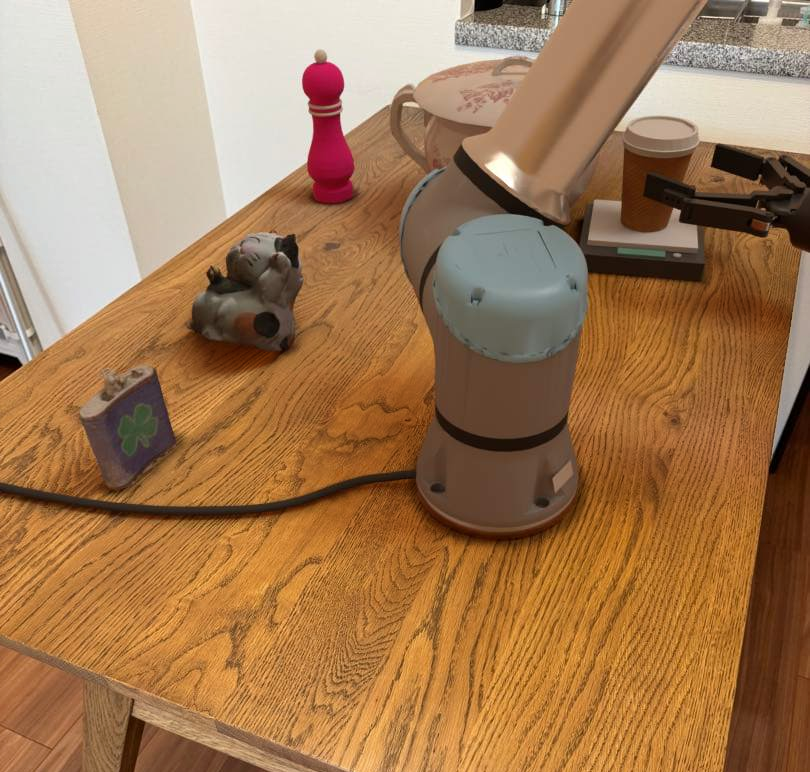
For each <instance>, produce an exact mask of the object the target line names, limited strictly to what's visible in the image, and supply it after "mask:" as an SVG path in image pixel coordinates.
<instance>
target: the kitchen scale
mask: <svg viewBox="0 0 810 772" xmlns="http://www.w3.org/2000/svg"><path fill="white" fill-rule="evenodd" d="M621 201H622V200H608V199H593V203H590V202H587V203H586V204H585V210H584V215H583V222H582V227H581V232H580V239H579V244H578V246H579V247H580V249H581V251H582V253H583V254H584V257H585V260H586V263H587V269H588V273H589V272H590V273H591V272H592V273H601V274H614V275H624V276H636V277H637V276H638V277H648V278H649V277H650V278H660V279H670V280H671V279H672V280H684V281H685V280H686V281H696V282H701V281H702V277H703V273H704V271H705V267H706V255H705V253H706V252H705V239H704V238H705V237H704V226H697V225H691V224H684V223H680V222H679V217H680V212H681V210H678V209H675V208H673V211H672V214H671V217H670V220H669V223H668V225H667V227H666V228H664V229H662V230H659V231H654V232H641V231H635V230H632V229H629V228H627V227H625V226H624V225H623V224H622V223H621V221H620V220H621Z"/></svg>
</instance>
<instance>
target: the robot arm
mask: <svg viewBox="0 0 810 772" xmlns="http://www.w3.org/2000/svg"><path fill="white" fill-rule="evenodd" d="M708 1H709V0H572V1H571V2H570V4H569V6H568V7H567V9H566V10H565V12H564V14H563V15H562V16H561V18H560V20H559V21H558V23H557V25H556V26H555V27H554V29H553V31H552V32H551V34H550V35H549V37H548V39H547V40H546V41H545V44H544V45H543V47H542V48H541V50H540V52H539V53H538V54H537V56H536V58H535V59H536V60H535V61H534V63H533V64H532V66H531V68H530V69H529V71H528V72H527V74H526V75H525V77H524V79H523V80H522V82H521V83H520V85H519V87H518V88H517V90H516V91H515V93H514V94H513V96H512V98H511V99H510V101H509V102H508V104H507V106H506V107H505V109H504V110H503V112H502V113H501V115H500V117H499V118H498V120H497V121H496V123H495V125H494V126H493V128H492V129H491V130H490V131H488V132H487V133H484V134H480V135H476V136H472V137H467V138H465V139H464V140H463V142H462V143H461V145H460V146H459V148H458V150H457V151H456V153H455V154H454V156H453V157H452V159H451V161H450V162H449V164H448V165H447V166H445V167H442V168H440V169H436V170H434V171H432V172H431V173H429V174H428V175H427V174H426V175H425V176H423V178H422V179H421V180H420V181H419V182H418V183H417V184H416V185H415V186H414V188H413V189H412V191H411V192H410V193H409V194H408V196H407V199H406V201H405V203H404V204H403V208H402V210H401V214H400V219H399V226H398V241H399V243H398V244H399V252H400V260H401V262H402V265H403V270H404V273H405V275H406V278H407V279H408V282H409V283H410V285H411V287H412V289H413V291H414V295H415V297H416V299H417V302H418V305H419V307H420V310H421V313H422V315H423V317H424V320H425V323H426V325H427V329H428V331H429V334H430V336H431V340H432V344H433V351H434V415H433V418H432V421H431V423H430V426H429V427H428V429H427V432H426V435H425V437H424V440H423V443H422V445H421V448H420V450H419V452H418V456H417V458H416V459H417V460H416V465H415V468H414V469H406V470H405V469H404V470H397V471H390V472H381V473H371V474H365V475H360V476H356V477H352V478H348V479H346V480H342V481H339V482H336V483H334V484H330V485H327V486H325V487H323V488H320V489H317V490H315V491H312V492H311V491H310V492H309V493H305V494H303V495H298V496H296V497H292V498H288V499H287V498H286V499H282V500H278V501H277V500H276V501H270V502H263V503H255V504H245V505H244V504H242V505H240V504H239V505H200V506H199V505H198V506H197V505H196V506H191V505H189V506H188V505H187V506H186V505H185V506H178V505H176V506H175V505H155V504H154V505H151V504H139V503H128V502H127V503H126V502H118V501H108V500H99V499H91V498H85V497H81V496H80V497H78V496H73V495H67V494H61V493H56V492H49V491H45V490H39V489H34V488H29V487H24V486H20V485H14V484H10V483H5V482H0V492H1V493H6V494H11V495H14V496H20V497H24V498H29V499H35V500H38V501H45V502H49V503H55V504H60V505H61V504H62V505H66V506H73V507H78V508H85V509H91V510H97V511H105V512H116V513H125V514H127V513H128V514H137V515H149V516H152V515H153V516H173V517H176V516H177V517H201V516H208V517H209V516H245V515H257V514H265V513H266V514H267V513H272V512H278V511H284V510H290V509H293V508H297V507H302V506H304V505H307V504H310V503H313V502H316V501H319V500H322V499H324V498H327V497H329V496H332V495H335V494H337V493H341V492H344V491H346V490H350V489H354V488H357V487H361V486H366V485H372V484H379V483H388V482H396V481H397V482H398V481H404V480H414V479H415V489H416V494H417V497H418V499H419V501H420V503H421V505H422V506H423V508H424V509H425V510H426V511H427V513H428V514H429V515H431V516H432V518H434V519H436V520H437V521H438V522H439V523H441V524H442V525H444V526H445V527H448V528H450V529H452V530H454V531H456V532H459V533H462V534H465V535H467V536H471V537H477V538H481V539H488V540H489V539H490V540H511V539H512V540H513V539H519V538H524V537H529V536H533V535H535V534H538V533H539V534H540V533H541V532H543V531H546V530H548V529H549V528H551V527H553V526H555V525H556V524H558V523H559V522H560V521H561V520H562V519H564V517H566V515H567V514H569V512H570V510H571V509H572V507H573V505H574V504H575V503H574V502H575V500H576V497H577V493H578V487H579V485H578V484H579V477H580V476H579V465H578V460H577V457H576V451H575V447H574V443H573V440H572V436H571V432H570V427H569V422H568V419H569V413H570V407H571V400H572V399H571V398H572V393H573V389H574V383H575V375H576V369H577V365H578V364H577V363H578V358H579V357H578V356H579V352H580V345H581V338H582V333H583V326H584V323H585V318H586V316H587V310H588V306H589V296H588V294H589V290H588V283H589V272H588V269H587V263H586V260H585V257H584V254H583V253H582V251H581V249H580V247H579V244H578V243H577V242H576V240H574V239H573V237H572V236H570V234H568V233H567V232H566V231H564V230H565V229H566V227H567V226H568V225H569V223H570V222H571V219H572V218H571V209H570V205H569V194H570V192H571V189H572V188H573V187H574V185H575V184H576V182H577V181H578V180H579V178H580V177H581V175H582V174H583V173H584V171H585V170H586V169H587V167H588V166H589V164H590V163H591V162H592V160H593V159H594V158H595V156H596V155H597V153H598V152H599V151H600V149H601V150H602V148H603V146H604V145H605V144H606V142H607V140H609V138H610V137H611V135H612V134H613V132H614V131H615V130H616V129H617V127H618V125H620V123H621V122H622V121H623V119H624V118H625V116H626V115H627V114H628V112H629V111H630V109H631V108H632V106H633V105H634V103H635V102H636V101H637V99H638V98H639V97H640V95H641V94H642V92H643V91H644V90H645V89H646V87H647V86H648V84H649V83H650V81H651V80H652V78H653V77H654V76H655V75H656V73H657V72H658V71H659V69H660V68H661V66H662V65H663V64H664V62H665V61H666V59H667V58H668V56H669V55H670V54H671V52H672V51H673V50H674V48H675V47H676V45H677V44H678V42H679V41H680V40H681V38H682V37H683V36H684V35H685V33H686V32H687V30H688V29H689V27H690V26H691V25H692V23H693V22H694V21H695V19H696V18H697V17H698V15H699V14H700V12H701V11H702V10H703V8H704V7H705V5H706V4H707V3H708ZM600 152H601V151H600ZM710 168H712V169H716V170H719V171H722V172H725V173H728V174H731V175H734V176H737V177H740V178H743V179H746V180H748V181H752V182H756V181H758V180H759V182H758V186H765V187H766V189H767V190H759V189H755V190H752V191H751V192H750V193H749V194H747V193H746V194H745V193H725V192H708V191H706V192H705V191H696V190H697V187H696V185H695V184H692V185H690V184H687V183H684V182H683V183H682V182H679V181H676V180H673V179H670V178H667V177H665V176H662V175H659V174H656V173H653V172H649V173H647V177H646V182H645V187H644V192H643V196H644V197H646V198H649V199H652V200H654V201H657V202H660V203H662V204H665V205H667V206H670V207H673V208H675V209H678V210H681V212H680V217H679V222H680V223H684V224H691V225H697V226H703V228H711V229H717V230H723V231H724V230H725V231H731V232H738V233H742V234H743V233H744V234H748V235H751V236H754V237H757V238H761V239H763V238H764V239H765V238H767V237H768V235H769V232H770V229H783V230H786V231H787V233H788V236H789V242H790V244H791V246H792V247H793V248H795V249H798V250H801V251H803V252H806V253H808V254H810V168H808V167H807V166H805V165H804V164H802V163H801V162H799V161H798V160H796V159H794V158H793V157H792V156H790V155H789V154H780V155H779V156H778V158H776V157H775V156H767V157H766V158H765V157H764V156H762V155H758V154H755V153H752V152H748V151H745V150H742V149H739V148H736V147H732V146H731V145H730V146H729V145H726V144H723V143H720V142H719V143H717V144H715V146H714V151H713V155H712V158H711V163H710ZM759 177H760V178H759Z"/></svg>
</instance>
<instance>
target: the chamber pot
mask: <svg viewBox="0 0 810 772" xmlns="http://www.w3.org/2000/svg"><path fill="white" fill-rule="evenodd" d="M535 60H536V58H531V57H528V56H525V55H512V56H508V57H505V58H502V59H501V58H500V59H490V60H480V61H479V60H478V61H474V62H469V63H463V64H458V65H456V66H452V67H449V68H446V69H442V70H440V71H438V72H435V73H432V74H430V75H428V76H427V77H426V78H424V79H422V80H421V81H420V82H418V83H417V85H416V86H415V85H414V84H413V83H407V84H406V85H404V86H402V87H401V88H400V89H398V91H397V92H396V93H395V95H394V96H393V98H392V101H391V103H390V105H389V114H388V115H389V116H388V119H389V120H388V123H389V127H390V131H391V135H392V137H393V138H394V140H395V141H396V142H397V143H398V145H399V147H400V148H401V149H402V151H403V152H404V154H406V155H407V156H408V157H409V158H410V159H411V160H412V161H413V162H414V163H416V164H417V165H418V166H419V167H420V168H421V169H422V170H423V171H424V172H425V174H426V175H428V174H429V173H431V172H432V171H434V170H436V169H440V168H442V167H445V166H447V165H448V164H449V162H450V161H451V159H452V157H453V156H454V154H455V153H456V151H457V150H458V148H459V146H460V145H461V143H462V142H463V140H464V139H465V138H467V137H472V136H476V135H480V134H484V133H487V132H488V131H490V130H491V129H492V128H493V126H494V125H495V123H496V121H497V120H498V118H499V117H500V115H501V113H502V112H503V110H504V109H505V107H506V106H507V104H508V102H509V101H510V99H511V98H512V96H513V94H514V93H515V91H516V90H517V88H518V87H519V85H520V83H521V82H522V80H523V79H524V77H525V75H526V74H527V72H528V71H529V69H530V68H531V66H532V64H533V63H534V61H535ZM405 103H415V104H417V105H418V107H419V108H420V109H422V110H423V126H424V128H425V129H424V132H423V134H424V135H423V139H424V140H423V141H424V144H423V145H424V148H423V149H424V151H423V150H421V149H420V148H419V147H417V146H416V144H415V143H414V142H413V140H412V139H411V138H410V136H409V134H408V133H407V132H406V131H405V127H404V124H403V120H402V114H403V113H402V110H403V107H404V104H405ZM601 150H602V148H601V149H600V151H599V152H598V153H597V155H596V156H595V158H594V159H593V160H592V162H591V163H590V164H589V166H588V167H587V169H586V170H585V171H584V173H583V174H582V175H581V177H580V178H579V180H578V181H577V182H576V184H575V185H574V187H573V188H572V189H571V192H570V194H569V205H570V210H572V208H573V207H574V205H575V204H576V203H577V202H578V200H579V199H580V198H581V196H582V195H583V193H584V192H585V191H586V189H588V188H589V186H590V184H591V183H592V179H593V177H594V174H595V171H596V169H597V166H598V162H599V159H600V156H601Z"/></svg>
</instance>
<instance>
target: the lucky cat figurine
mask: <svg viewBox="0 0 810 772" xmlns="http://www.w3.org/2000/svg"><path fill="white" fill-rule="evenodd" d="M296 238H297V235H296V233H290V234H287V235H286V236H285V237H283V236H281V235H279V233H278V232H277V230H276V229H271V230H270V231H269V232H267V231H264V232H262V231H261V232H260V231H259V232H256V233H248V234H246V236H245V237H243V238H242V240H239V241H237V242H236V243H234V244H233V246H232V247H230V249H229V251H228V252H227V254H226V256H225V266H226V276H224V275H223V274H222V271H221V269H220V268H219V267H218V266H214V265H210V266H209V267H208V269H207V271H206V273H205V275H206V277H207V279H208V282H209V284H208V285H207V287H206V289H205V290H204V291H201V292H199V293H198V294H197V295H196V297H195V299H194V301H193V303H192V306H191V321H189V322H188V323H186V329H188V330H190V331H194V332H195V333H197V334H198V336H199V337H201V338H204V339H208V340H209V341H214V342H219V343H224V344H225V343H226V344H233V345H242V346H247V347H251V348H254V349H257V350H261V351H268V352H269V351H270V352H271V351H273V352H278V351H279V352H280V351H282V350H283V351H287V350H289V349H291V346H292V345H293V344H294V342H295V338H296V318H295V314H294V305H295V302H296V299H297V297H298V295H299V293H300V291H301V290H302V288H303V286H304V281H305V278H304V275H302V272H303V271H302V270H303V264H302V262H301V259H300V255H299V245H298V244H297V242H296V240H297V239H296Z"/></svg>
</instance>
